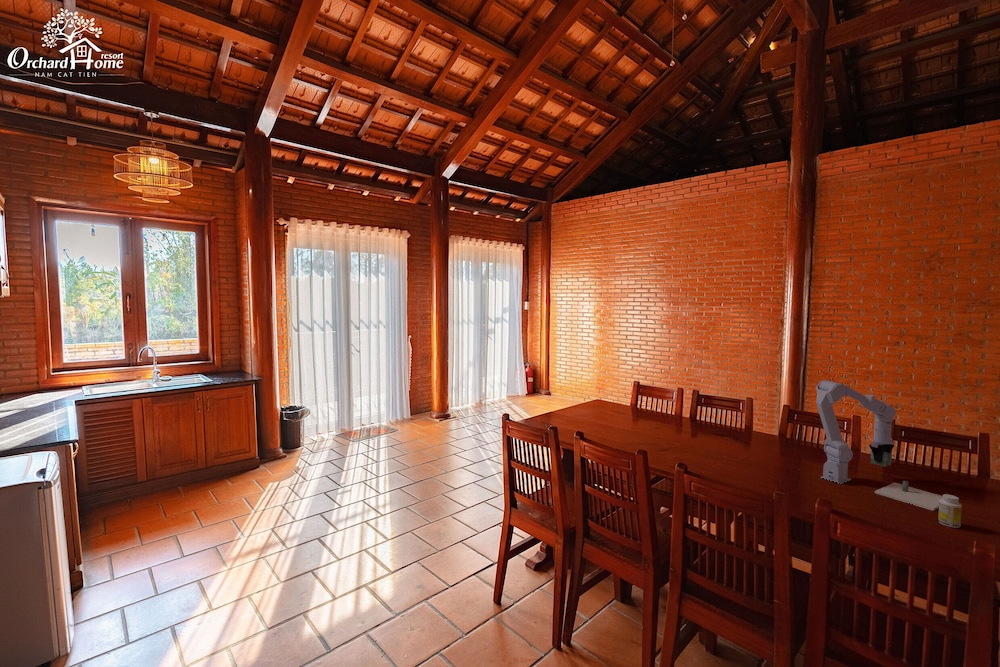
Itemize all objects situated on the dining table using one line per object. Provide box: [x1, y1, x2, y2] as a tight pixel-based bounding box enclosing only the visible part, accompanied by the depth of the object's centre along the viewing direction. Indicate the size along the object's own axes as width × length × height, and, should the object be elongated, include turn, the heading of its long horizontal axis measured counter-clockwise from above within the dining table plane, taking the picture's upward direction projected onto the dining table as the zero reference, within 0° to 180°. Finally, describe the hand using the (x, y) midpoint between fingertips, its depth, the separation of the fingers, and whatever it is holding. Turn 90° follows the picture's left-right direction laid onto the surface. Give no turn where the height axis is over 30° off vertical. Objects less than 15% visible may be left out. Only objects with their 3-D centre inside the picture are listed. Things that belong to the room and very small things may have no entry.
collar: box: [870, 451, 893, 467], centre depth 196 cm, size 5×5×5 cm
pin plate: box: [874, 480, 943, 511], centre depth 178 cm, size 18×18×5 cm
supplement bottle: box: [938, 493, 963, 529], centre depth 155 cm, size 6×6×10 cm
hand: (880, 460), depth 196 cm, fingers closed on collar, 5 cm apart
